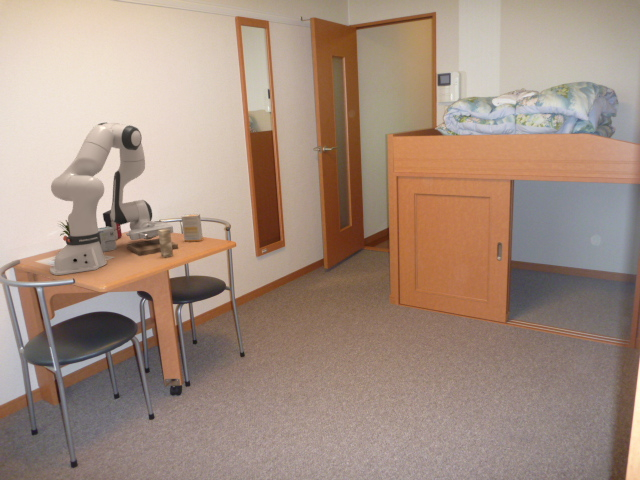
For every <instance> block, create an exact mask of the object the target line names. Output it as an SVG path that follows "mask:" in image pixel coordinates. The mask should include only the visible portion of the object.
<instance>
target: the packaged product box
mask: <svg viewBox="0 0 640 480" xmlns="http://www.w3.org/2000/svg"><path fill="white" fill-rule="evenodd" d="M102 218H103V222H104V225H105V227H107V226H109V227H113V228H114V233H115V240H118V239H120V238H122V237H123V234H122V227H121V226H122V225H119V224H117V223H115V222H114V221H113V220H112V217H111V209H110V210H107V211H105V212H103V213H102Z"/></svg>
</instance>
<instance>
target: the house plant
mask: <svg viewBox="0 0 640 480" xmlns="http://www.w3.org/2000/svg"><path fill="white" fill-rule="evenodd" d="M58 222H59V223H58V226H60V228H61V229H64V230H62V233H60V235H59V237H60V236H61V237H62V236H67V237H68V236H69V235H70V230H69V223H68V219H65V222H66V224H65V223H63V222H62V221H61V220H58ZM60 223H61V224H60ZM64 234H65V235H64Z"/></svg>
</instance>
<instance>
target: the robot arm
mask: <svg viewBox="0 0 640 480" xmlns="http://www.w3.org/2000/svg"><path fill="white" fill-rule="evenodd" d="M112 148H114V149H119V160H120V161H119V162H120V163H119V166H118V169H117V170H116V171H115V172H114V176H113V183H112V185H113V186H112V198H111V199H112V201H111V209H110V210H111V217H112V220H113V221H114V222H115V223H117V224H119V225H120V226H122V225H126V224H129V229H130V230H129V231H128V233H126V236H127V237H129V239H130V240H131V241H137V240H145V241H147V240H153V238H154V239H155V238H156V237H159V233H158V230H162V229H169V230H170V233H171V234H173V233H174V228H173V225H172V224H170V223H168V222H165V221H163V220H158V221H153V220H152V219H153V210H152V207H151V205H150V204H149V203H148V201H146V200H144V199H139V200H134V201H130V202H124V201H123V200H124V188H125V186H127V184H129V183H130V182H132V181H133V180H135V179H137V178H139V177H140V176H141V175H142V174H143V173H144V172H145V169H146V158H145V152H144V147H143V143H142V133H141V131H140V129H139V128H137V127H136V126H133V125H131V124H130V125H126V124H121V123H119V122H101V123H98V124H96V125H95V126H93V127H92V129H91V130H90V131H89V133H88V134H87V135H86V137H85V139H84V140H83V143H82V144H81V146H80V148H79V150H78V153H77V155H76V156H75V158H74V160H73V161H72V162H71V163H70V165H69V166H68V167H67V168H66V169H65V170H64V171H63V173H61V174H60V175H59V176H57V177H55V178H54V179H53V180H52V182H51V185H50V189H51V190H50V191H51V193H52V195H53V196H54V197H56V198H58V199H60V200H62V201H66V202H72V210H71V212H70V214H69V215H68V216H67V221H68V223H69V230H70V235H69V236H68V235H66V236H65V235H63V237H62V239H63V241H64V242H65V243H66V245H65V246H64V247H63V248H61V250H60V251H59V252H57V253H56V254H55V257H54V265H53V266H51V267H50V268H49V272H50V274H52V275H55V276H62V275H68V274H75V273H81V272H88V271H95V270H97V269H100V268H101V267H103V266H106V264H108V262H107V259H106V257H105V255H104V252H103V251H102V248H101V237H100V233H99V232H98V219H97V211H98V210H97V209H98V206H99V205H98V204H99V201H100V200H101V199H102V197H103V196H104V193H105V185H104V183H103V181H102V180H101V179H100V178H98V177H95V175H97V174H99V173H100V172H101V171H102V170H103V167H104V166H105V163H106V161H107V160H108V157H109V155H110V153H111V150H112Z"/></svg>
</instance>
